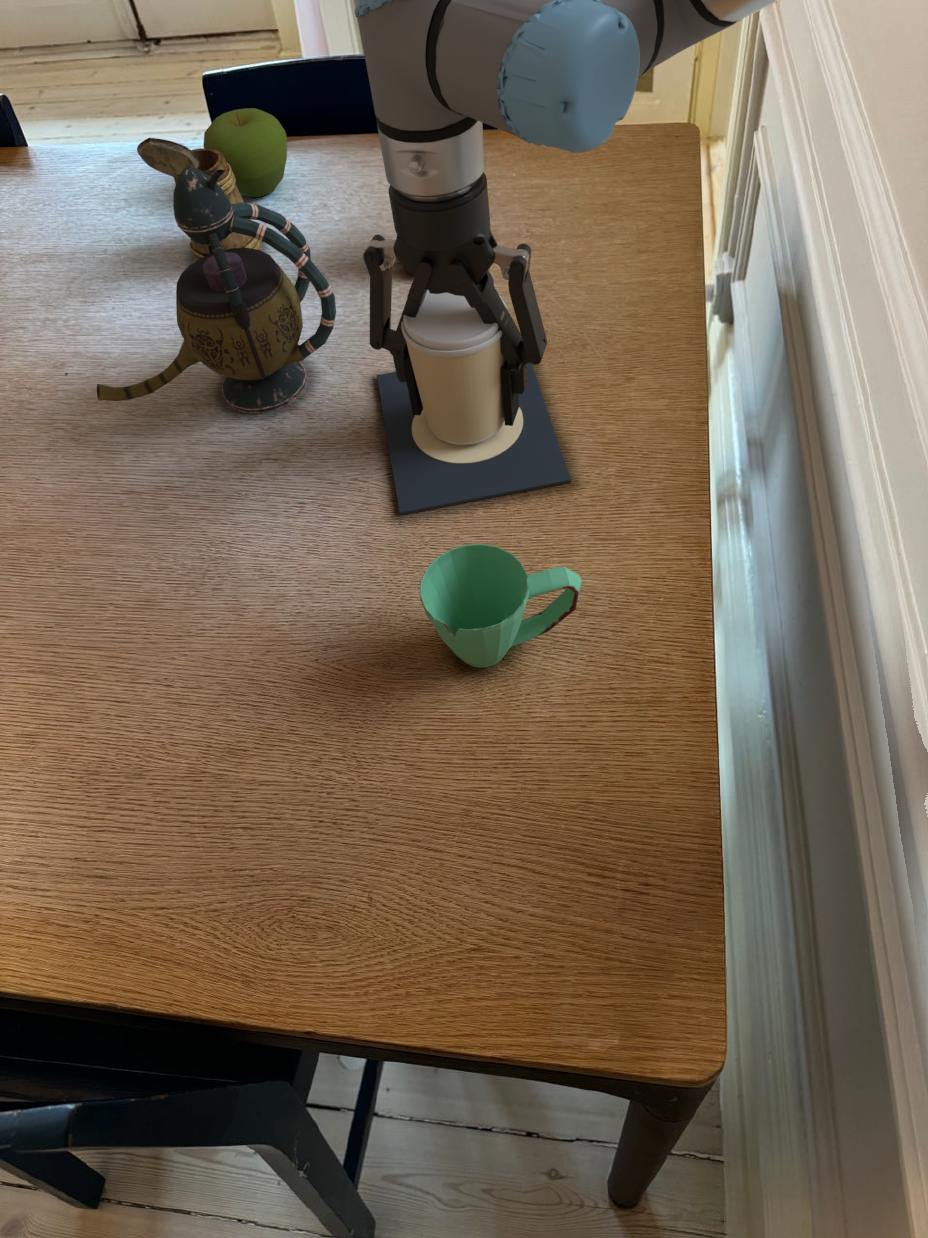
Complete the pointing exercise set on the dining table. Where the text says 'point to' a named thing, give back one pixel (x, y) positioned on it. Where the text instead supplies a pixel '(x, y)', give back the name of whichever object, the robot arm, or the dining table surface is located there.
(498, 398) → the coffee cup
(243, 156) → the apple
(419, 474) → the place mat
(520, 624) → the mug
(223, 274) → the teapot
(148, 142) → the wooden mug
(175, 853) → the dining table surface
